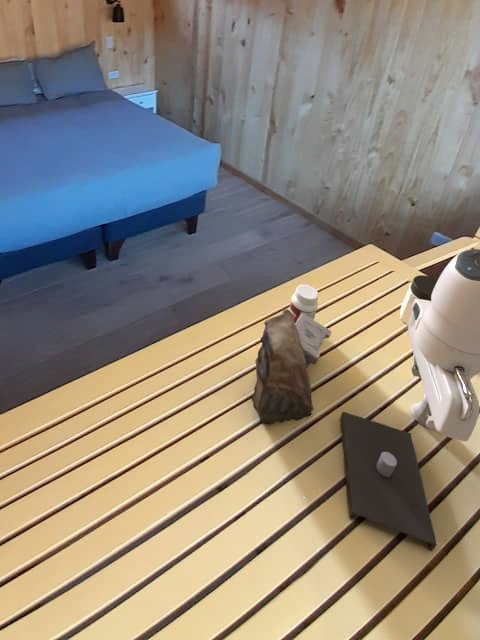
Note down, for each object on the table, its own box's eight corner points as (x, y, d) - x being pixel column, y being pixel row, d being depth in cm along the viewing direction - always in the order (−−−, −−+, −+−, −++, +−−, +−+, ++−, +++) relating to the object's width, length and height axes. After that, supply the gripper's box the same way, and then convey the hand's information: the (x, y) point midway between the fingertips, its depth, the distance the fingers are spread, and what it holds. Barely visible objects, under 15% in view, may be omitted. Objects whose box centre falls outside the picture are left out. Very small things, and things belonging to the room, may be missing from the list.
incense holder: (309, 387, 90) (319, 356, 85) (273, 365, 95) (280, 334, 90) (323, 357, 96) (333, 327, 91) (289, 338, 101) (296, 308, 96)
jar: (408, 332, 102) (424, 298, 97) (391, 307, 109) (404, 274, 104) (445, 334, 101) (463, 299, 96) (425, 308, 109) (441, 275, 103)
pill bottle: (283, 314, 108) (290, 282, 103) (305, 313, 108) (314, 282, 103) (291, 333, 103) (299, 300, 98) (315, 333, 103) (325, 300, 97)
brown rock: (258, 429, 82) (273, 365, 73) (232, 373, 93) (242, 311, 84) (314, 418, 84) (336, 354, 75) (282, 364, 95) (298, 303, 86)
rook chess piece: (426, 431, 81) (440, 407, 77) (405, 411, 85) (417, 387, 81) (440, 422, 82) (454, 398, 79) (418, 402, 86) (431, 379, 83)
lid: (406, 440, 80) (416, 422, 77) (432, 551, 65) (444, 534, 62) (339, 418, 84) (346, 400, 81) (349, 518, 69) (357, 501, 66)
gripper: (505, 413, 53) (467, 470, 59) (454, 301, 69) (429, 354, 76) (447, 397, 55) (416, 453, 61) (411, 291, 72) (391, 344, 78)
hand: (423, 397), depth 68 cm, fingers open, 8 cm apart
